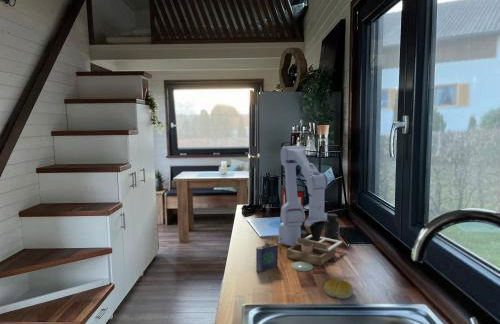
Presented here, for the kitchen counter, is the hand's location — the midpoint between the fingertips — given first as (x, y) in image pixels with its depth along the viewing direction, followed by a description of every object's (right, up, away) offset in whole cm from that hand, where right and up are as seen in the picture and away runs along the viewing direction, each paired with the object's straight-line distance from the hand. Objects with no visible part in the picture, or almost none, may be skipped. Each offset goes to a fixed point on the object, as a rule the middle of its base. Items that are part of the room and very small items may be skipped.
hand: (316, 240), depth 139 cm
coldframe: (-1, -9, +7) cm, 11 cm away
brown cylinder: (-3, -8, +6) cm, 10 cm away
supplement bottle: (+12, -6, +28) cm, 31 cm away
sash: (+4, -4, +12) cm, 13 cm away
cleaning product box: (-4, -4, +52) cm, 52 cm away
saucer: (-6, -10, -3) cm, 12 cm away
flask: (-19, -10, -4) cm, 22 cm away
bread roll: (+3, -12, -23) cm, 26 cm away
